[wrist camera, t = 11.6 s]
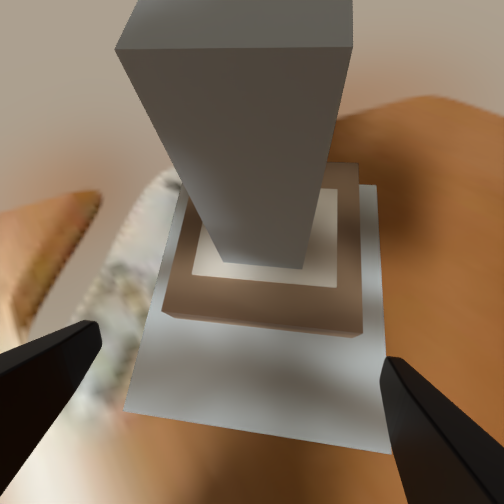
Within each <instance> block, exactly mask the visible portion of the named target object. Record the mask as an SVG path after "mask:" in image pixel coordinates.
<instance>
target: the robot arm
mask: <svg viewBox="0 0 504 504" xmlns="http://www.w3.org/2000/svg"><path fill="white" fill-rule="evenodd" d="M101 347H102V338H101V333H100V329H99V325H98V323H97V322H95V321H89V320H83V321H80V322H78V323H75V324H73V325H70V326H68V327H65V328H63V329H60V330H58V331H55V332H53V333H51V334H48V335H46V336H43V337H41V338H38V339H36V340H33V341H31V342H28V343H26V344H23V345H21V346H18V347H16V348H13V349H11V350H9V351H6V352H4V353H1V354H0V496H1V495H2V494H3V492H4V491H5V489H6V488H7V487H8V485H9V484H10V482H11V481H12V480H13V478H14V477H15V475H16V474H17V473H18V471H19V470H20V468H21V467H22V466H23V464H24V463H25V461H26V460H27V459H28V457H29V456H30V454H31V453H32V452H33V450H34V449H35V448H36V446H37V445H38V443H39V442H40V441H41V439H42V438H43V436H44V435H45V434H46V432H47V431H48V429H49V428H50V427H51V425H52V424H53V422H54V421H55V420H56V418H57V417H58V415H59V414H60V413H61V411H62V410H63V408H64V407H65V406H66V404H67V403H68V401H69V400H70V399H71V397H72V396H73V394H74V393H75V391H76V390H77V388H78V386H79V385H80V383H81V381H82V380H83V378H84V376H85V375H86V373H87V371H88V370H89V368H90V366H91V364H92V363H93V361H94V359H95V358H96V356H97V354H98V353H99V351H100V349H101ZM379 385H380V391H381V396H382V402H383V407H384V413H385V418H386V423H387V429H388V434H389V439H390V443H391V447H392V451H393V454H394V458H395V461H396V464H397V468H398V471H399V475H400V478H401V481H402V485H403V488H404V492H405V495H406V498H407V502H408V504H504V447H503V446H502V445H500V444H499V443H498V442H497V441H496V440H495V439H494V438H492V437H491V436H490V435H489V434H488V433H487V432H486V431H484V430H483V429H482V428H481V427H480V426H479V425H478V424H477V423H475V422H474V421H473V420H472V419H471V418H470V417H469V416H467V415H466V414H465V413H464V412H463V411H462V410H461V409H459V408H458V407H457V406H456V405H455V404H454V403H453V402H451V401H450V400H449V399H448V398H447V397H446V396H445V395H443V394H442V393H441V392H440V391H439V390H438V389H437V388H435V387H434V386H433V385H432V384H431V383H430V382H429V381H427V380H426V379H425V378H424V377H423V376H422V375H421V374H419V373H418V372H417V371H416V370H415V369H414V368H413V367H412V366H410V365H409V364H408V363H407V362H406V361H405V360H403V359H402V358H399V357H391V356H387V357H386V358H385V359H384V363H383V366H382V370H381V374H380V379H379Z"/></svg>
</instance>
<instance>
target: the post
mask: <svg viewBox="0 0 504 504" xmlns="http://www.w3.org/2000/svg"><path fill="white" fill-rule="evenodd" d="M352 8H353V6H352V0H138V2H137V4H136V6H135V8H134V10H133V12H132V14H131V16H130V18H129V20H128V22H127V24H126V26H125V28H124V30H123V33H122V35H121V37H120V39H119V41H118V43H117V45H116V47H115V52H116V54H117V56H118V57H119V59H120V61H121V63H122V65H123V67H124V69H125V71H126V73H127V75H128V77H129V79H130V81H131V83H132V85H133V87H134V89H135V91H136V93H137V95H138V97H139V98H140V100H141V102H142V104H143V106H144V108H145V110H146V112H147V114H148V116H149V118H150V120H151V122H152V124H153V126H154V128H155V129H156V132H157V134H158V136H159V138H160V140H161V142H162V143H163V145H164V147H165V149H166V151H167V153H168V155H169V157H170V159H171V161H172V163H173V165H174V167H175V169H176V171H177V173H178V175H179V177H180V179H181V181H182V183H183V185H184V186H185V188H186V190H187V192H188V194H189V196H190V198H191V200H192V202H193V204H194V206H195V208H196V210H197V212H198V214H199V216H200V218H201V220H202V222H203V224H204V226H205V227H206V229H207V231H208V233H209V235H210V237H211V239H212V241H213V243H214V245H215V247H216V249H217V251H218V253H219V255H220V257H221V259H222V261H223V262H225V263H236V264H247V265H258V266H269V267H280V268H291V269H302V268H303V264H304V259H305V255H306V251H307V246H308V242H309V237H310V233H311V229H312V224H313V220H314V216H315V211H316V207H317V202H318V198H319V194H320V189H321V185H322V180H323V176H324V172H325V167H326V163H327V158H328V154H329V150H330V145H331V141H332V137H333V132H334V128H335V123H336V119H337V115H338V110H339V106H340V101H341V96H342V93H343V88H344V84H345V79H346V75H347V70H348V66H349V62H350V57H351V53H352V49H353V11H352Z"/></svg>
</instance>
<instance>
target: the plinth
mask: <svg viewBox="0 0 504 504" xmlns="http://www.w3.org/2000/svg"><path fill="white" fill-rule="evenodd" d="M385 358H386V348H385V330H384V312H383V295H382V277H381V259H380V241H379V223H378V205H377V187H376V185H359V165H358V163H344V162H327V163H326V167H325V172H324V176H323V180H322V185H321V189H320V194H319V198H318V202H317V207H316V211H315V216H314V220H313V224H312V229H311V233H310V237H309V242H308V246H307V251H306V255H305V259H304V264H303V268H302V269H291V268H280V267H269V266H258V265H247V264H236V263H225V262H223V261H222V259H221V257H220V255H219V253H218V251H217V249H216V247H215V245H214V243H213V241H212V239H211V237H210V235H209V233H208V231H207V229H206V227H205V226H204V224H203V222H202V220H201V218H200V216H199V214H198V212H197V210H196V208H195V206H194V204H193V202H192V200H191V198H190V196H189V194H188V192H187V190H186V188H185V186H184V185H183V183H182V186H181V189H180V193H179V197H178V201H177V205H176V209H175V212H174V216H173V220H172V224H171V228H170V232H169V236H168V239H167V243H166V247H165V251H164V255H163V259H162V262H161V266H160V270H159V274H158V278H157V282H156V286H155V289H154V293H153V297H152V301H151V305H150V309H149V312H148V316H147V320H146V324H145V328H144V332H143V335H142V339H141V343H140V347H139V351H138V355H137V359H136V362H135V366H134V370H133V374H132V378H131V382H130V385H129V389H128V393H127V397H126V401H125V405H124V409H123V411H125V412H131V413H137V414H144V415H150V416H156V417H162V418H168V419H175V420H181V421H187V422H193V423H199V424H206V425H212V426H218V427H224V428H230V429H237V430H243V431H249V432H255V433H261V434H268V435H274V436H280V437H286V438H292V439H299V440H305V441H311V442H317V443H323V444H330V445H336V446H342V447H348V448H354V449H361V450H367V451H373V452H379V453H385V454H391V443H390V439H389V434H388V429H387V423H386V418H385V413H384V407H383V402H382V396H381V391H380V385H379V379H380V374H381V370H382V366H383V363H384V359H385Z"/></svg>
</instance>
